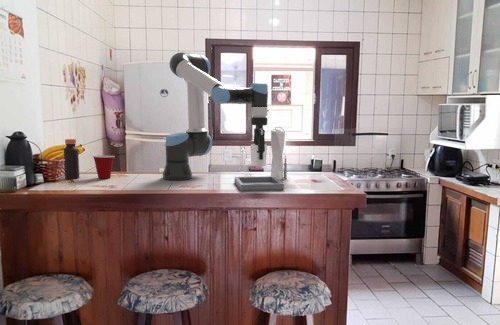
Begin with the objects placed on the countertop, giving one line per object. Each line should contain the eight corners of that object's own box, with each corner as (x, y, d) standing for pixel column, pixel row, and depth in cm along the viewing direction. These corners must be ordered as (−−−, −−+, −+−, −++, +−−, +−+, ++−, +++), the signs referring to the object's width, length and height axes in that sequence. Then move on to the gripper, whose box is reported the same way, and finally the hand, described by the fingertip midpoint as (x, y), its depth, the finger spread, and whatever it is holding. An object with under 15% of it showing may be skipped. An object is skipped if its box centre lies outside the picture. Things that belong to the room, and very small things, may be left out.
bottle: (75, 179, 207) (74, 140, 204) (62, 179, 207) (60, 139, 204) (81, 177, 213) (80, 138, 210) (68, 177, 213) (66, 138, 211)
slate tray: (234, 182, 205) (234, 176, 204) (273, 182, 208) (273, 176, 208) (240, 191, 185) (240, 184, 185) (283, 190, 189) (283, 183, 188)
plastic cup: (119, 176, 216) (118, 154, 215) (109, 180, 206) (108, 156, 204) (100, 175, 218) (99, 153, 216) (89, 179, 208) (88, 156, 206)
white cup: (265, 167, 191) (265, 145, 189) (248, 166, 192) (249, 145, 191) (268, 164, 198) (268, 144, 197) (252, 164, 200) (252, 143, 198)
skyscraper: (282, 181, 211) (284, 127, 207) (267, 180, 214) (268, 126, 210) (287, 178, 219) (288, 126, 215) (272, 177, 222) (273, 125, 218)
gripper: (272, 117, 183) (271, 168, 186) (262, 116, 203) (262, 162, 206) (255, 117, 181) (254, 168, 184) (247, 116, 201) (247, 162, 204)
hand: (258, 165), depth 195 cm, fingers closed on white cup, 7 cm apart
